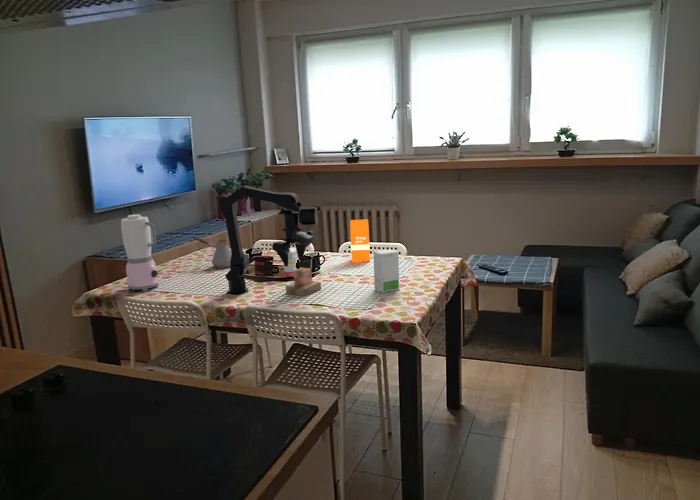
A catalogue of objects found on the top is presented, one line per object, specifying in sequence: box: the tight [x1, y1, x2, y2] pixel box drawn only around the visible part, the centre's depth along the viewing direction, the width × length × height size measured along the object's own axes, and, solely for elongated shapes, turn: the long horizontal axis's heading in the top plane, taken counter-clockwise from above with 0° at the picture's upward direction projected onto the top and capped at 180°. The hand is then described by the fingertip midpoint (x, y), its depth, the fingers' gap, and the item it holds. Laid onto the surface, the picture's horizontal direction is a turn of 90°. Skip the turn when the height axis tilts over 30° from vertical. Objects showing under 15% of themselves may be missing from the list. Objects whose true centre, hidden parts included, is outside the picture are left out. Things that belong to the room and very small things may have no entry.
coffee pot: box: [191, 236, 231, 269], centre depth 274 cm, size 21×12×15 cm, turn 78°
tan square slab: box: [285, 280, 322, 297], centre depth 225 cm, size 10×10×3 cm
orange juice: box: [349, 219, 371, 263], centre depth 270 cm, size 8×9×20 cm
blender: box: [120, 214, 159, 292], centre depth 238 cm, size 16×12×32 cm
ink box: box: [283, 247, 299, 279], centre depth 249 cm, size 9×5×12 cm, turn 166°
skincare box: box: [372, 249, 400, 294], centre depth 219 cm, size 8×7×16 cm
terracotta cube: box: [293, 267, 313, 286], centre depth 224 cm, size 5×5×6 cm
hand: (293, 263), depth 222 cm, fingers open, 9 cm apart
